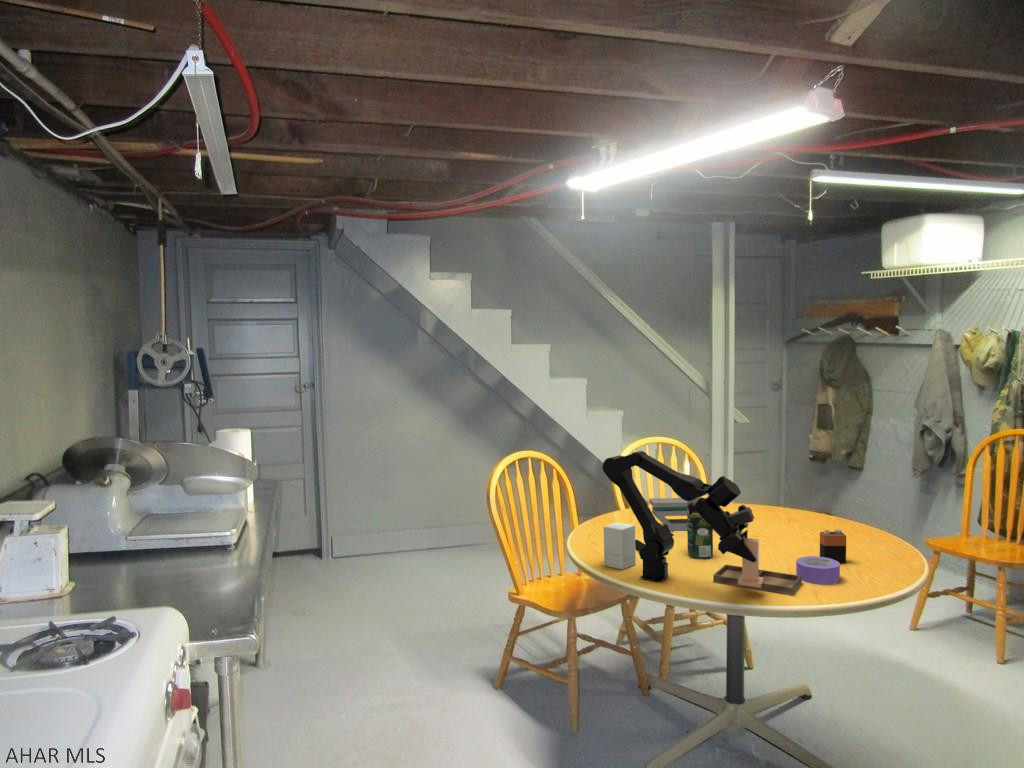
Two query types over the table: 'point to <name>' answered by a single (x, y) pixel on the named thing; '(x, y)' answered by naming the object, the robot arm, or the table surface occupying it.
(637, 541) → the electric trimmer
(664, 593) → the table surface
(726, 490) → the robot arm
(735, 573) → the divided tray
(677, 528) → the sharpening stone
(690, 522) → the coffee jar
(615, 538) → the supplement box
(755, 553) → the pink post on base
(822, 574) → the tape roll
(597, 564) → the table surface
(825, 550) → the battery
